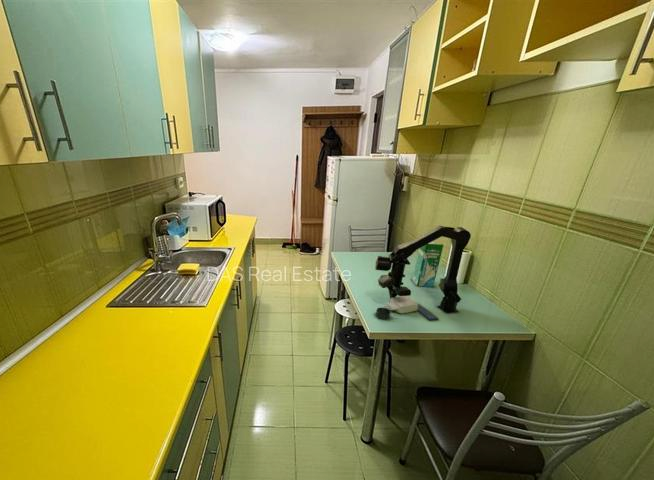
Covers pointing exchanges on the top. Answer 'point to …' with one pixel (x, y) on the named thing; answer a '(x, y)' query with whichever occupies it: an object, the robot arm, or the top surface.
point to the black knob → (383, 313)
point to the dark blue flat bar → (426, 313)
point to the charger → (402, 304)
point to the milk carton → (427, 264)
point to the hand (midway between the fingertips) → (391, 300)
